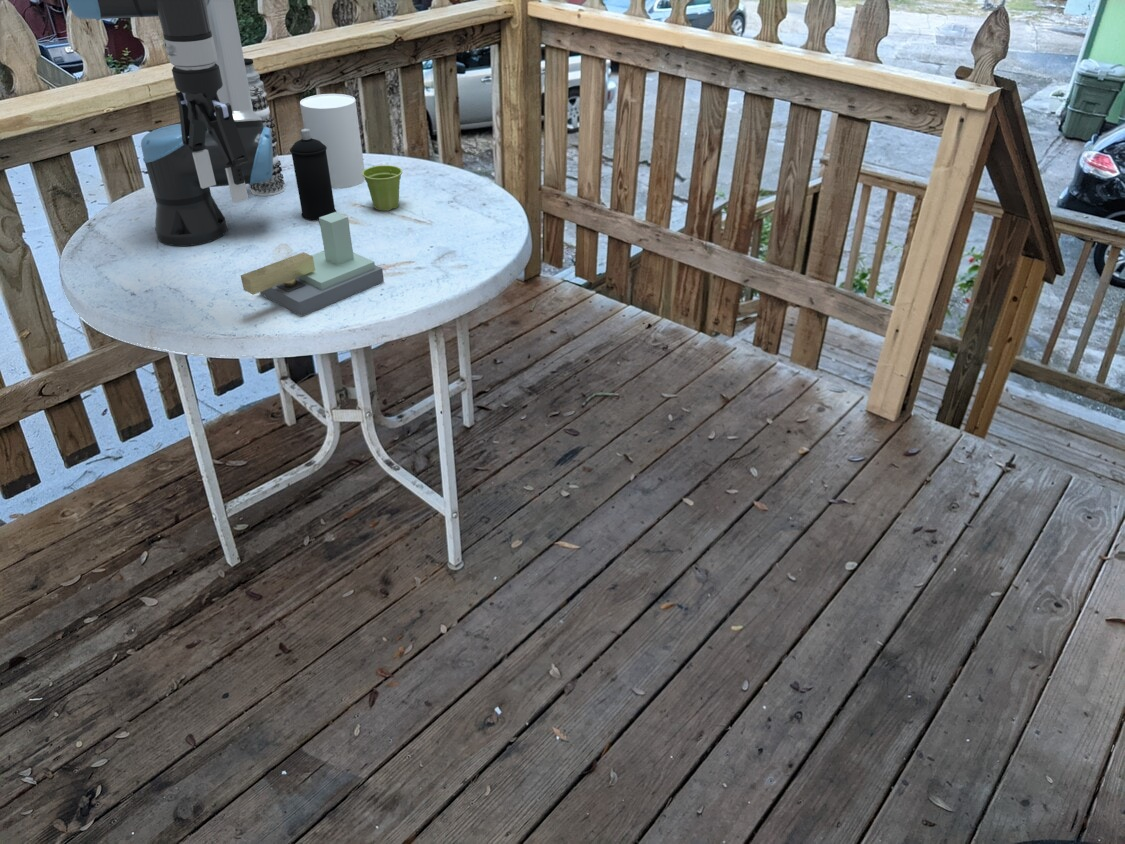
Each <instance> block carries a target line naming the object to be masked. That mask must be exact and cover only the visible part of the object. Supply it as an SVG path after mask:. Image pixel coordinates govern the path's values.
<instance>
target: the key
mask: <svg viewBox="0 0 1125 844" xmlns="http://www.w3.org/2000/svg"><path fill="white" fill-rule="evenodd" d="M313 271H315V266H314V260H313V256H311V255H310V254H309V253H306V252H304V251H303V252H301V253H298V254H294V255H293V256H289V257H287V258H283V259H282V260H279V261H276V262H274V263H273V262H272V263H270V264H268V265H264V266H262V267H260V268H256V269H255V270H252V271H248V272H246V273H244V274H241V275H240V279H241V283H242V287H243V291H245V292H247V293H248V294H251V295H252V296H253V295H257V294H260V292H261V291H264V290H267V289H269V288H272V287H274V286H277V285H279V284H282V283H284V286H285V287H294V286H296V285H297V281H296V278H297V277H300V276H303V275H305V274H308V273H310V272H313Z"/></svg>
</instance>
